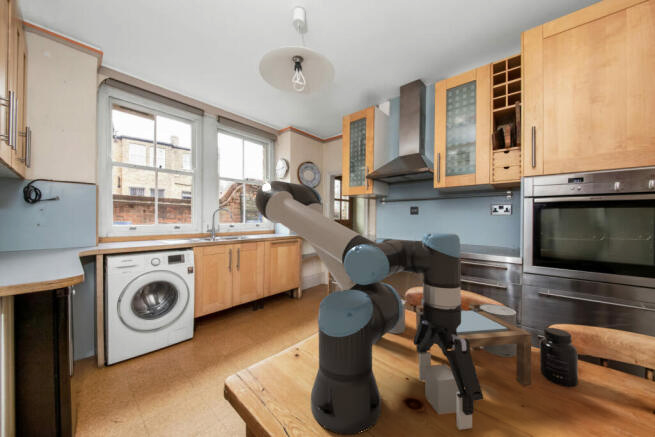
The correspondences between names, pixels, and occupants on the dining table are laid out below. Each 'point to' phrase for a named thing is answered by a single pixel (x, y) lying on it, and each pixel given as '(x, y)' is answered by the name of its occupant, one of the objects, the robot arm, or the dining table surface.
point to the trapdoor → (476, 323)
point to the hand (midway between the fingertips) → (442, 400)
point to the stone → (441, 388)
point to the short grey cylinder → (507, 316)
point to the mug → (400, 322)
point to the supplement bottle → (559, 358)
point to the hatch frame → (499, 341)
